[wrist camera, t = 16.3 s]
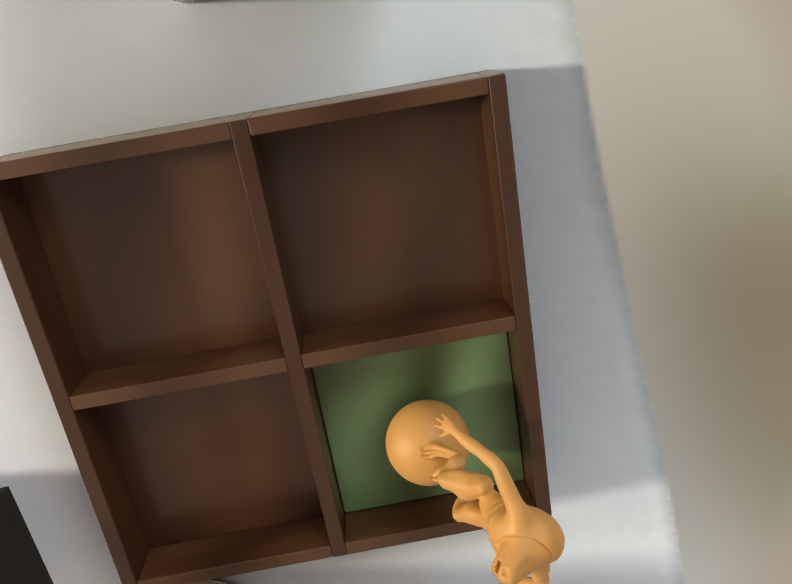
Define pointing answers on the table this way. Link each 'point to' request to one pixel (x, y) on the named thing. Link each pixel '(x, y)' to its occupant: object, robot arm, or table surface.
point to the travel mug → (209, 582)
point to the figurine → (474, 489)
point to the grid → (278, 320)
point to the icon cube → (185, 1)
